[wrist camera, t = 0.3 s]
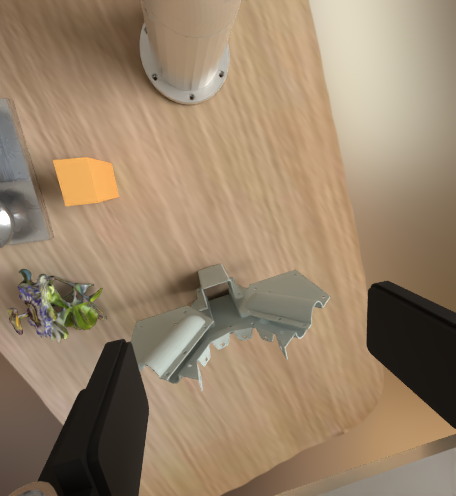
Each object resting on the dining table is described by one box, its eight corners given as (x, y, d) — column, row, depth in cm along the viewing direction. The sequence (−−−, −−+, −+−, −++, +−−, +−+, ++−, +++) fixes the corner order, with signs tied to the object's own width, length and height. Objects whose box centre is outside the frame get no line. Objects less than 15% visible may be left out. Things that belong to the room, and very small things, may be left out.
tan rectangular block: (87, 165, 38) (52, 160, 27) (111, 163, 38) (87, 157, 28) (95, 199, 39) (65, 206, 29) (118, 196, 40) (98, 202, 29)
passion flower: (60, 282, 47) (-10, 272, 35) (113, 265, 46) (60, 248, 34) (64, 346, 43) (-10, 356, 32) (122, 328, 42) (66, 333, 31)
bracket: (148, 324, 46) (127, 424, 27) (134, 290, 44) (101, 374, 25) (287, 278, 49) (355, 339, 30) (280, 244, 47) (349, 287, 28)
